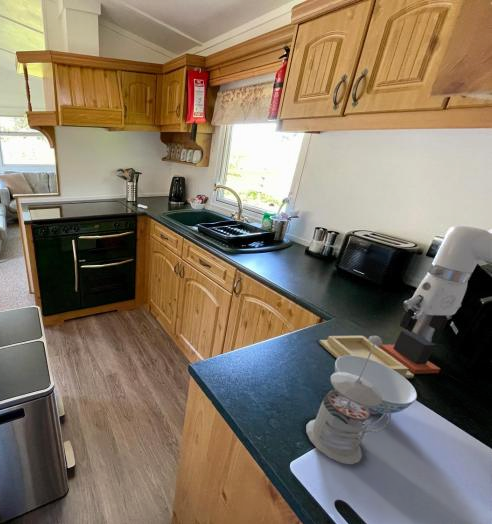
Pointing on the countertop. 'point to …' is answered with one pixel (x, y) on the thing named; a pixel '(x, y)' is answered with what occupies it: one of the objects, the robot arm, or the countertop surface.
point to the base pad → (362, 351)
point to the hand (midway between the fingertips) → (420, 328)
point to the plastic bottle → (424, 327)
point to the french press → (350, 405)
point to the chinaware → (380, 382)
